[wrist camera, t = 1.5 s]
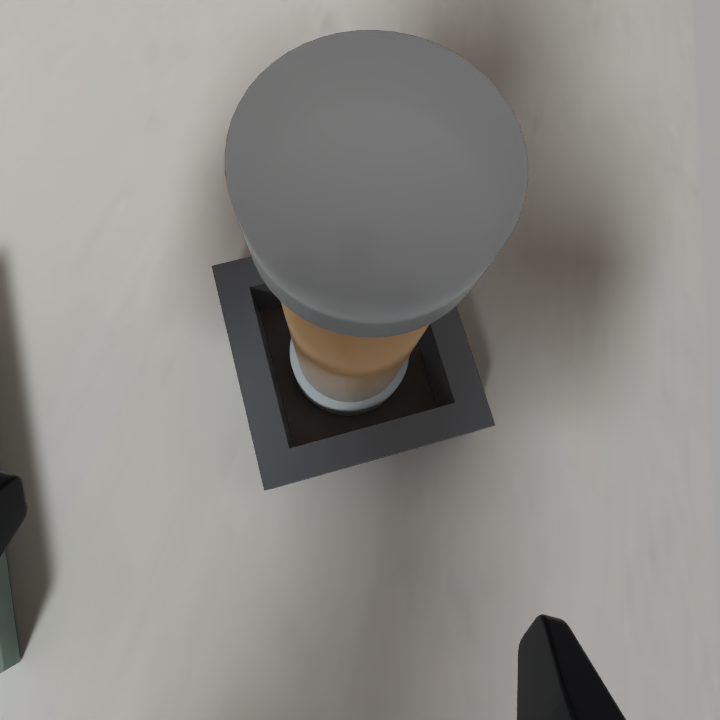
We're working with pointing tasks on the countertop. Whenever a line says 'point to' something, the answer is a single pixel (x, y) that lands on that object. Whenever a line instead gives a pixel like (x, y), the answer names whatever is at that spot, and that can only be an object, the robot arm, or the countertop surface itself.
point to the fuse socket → (292, 464)
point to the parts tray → (7, 621)
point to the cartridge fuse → (371, 200)
